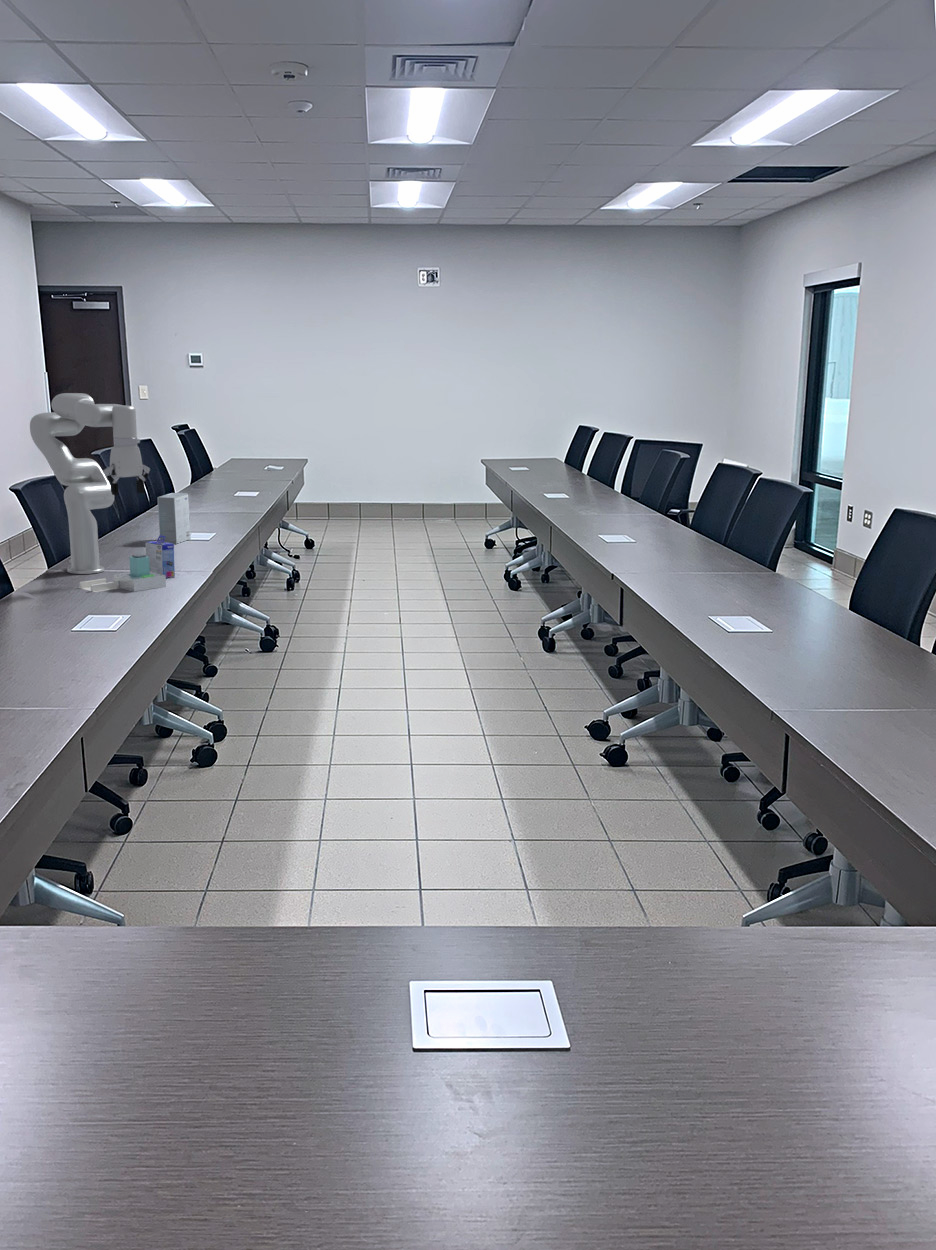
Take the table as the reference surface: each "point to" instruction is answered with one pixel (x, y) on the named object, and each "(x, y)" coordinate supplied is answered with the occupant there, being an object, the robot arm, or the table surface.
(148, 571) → the plug
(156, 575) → the port
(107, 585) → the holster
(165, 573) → the ink cartridge box
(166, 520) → the hard drive box
